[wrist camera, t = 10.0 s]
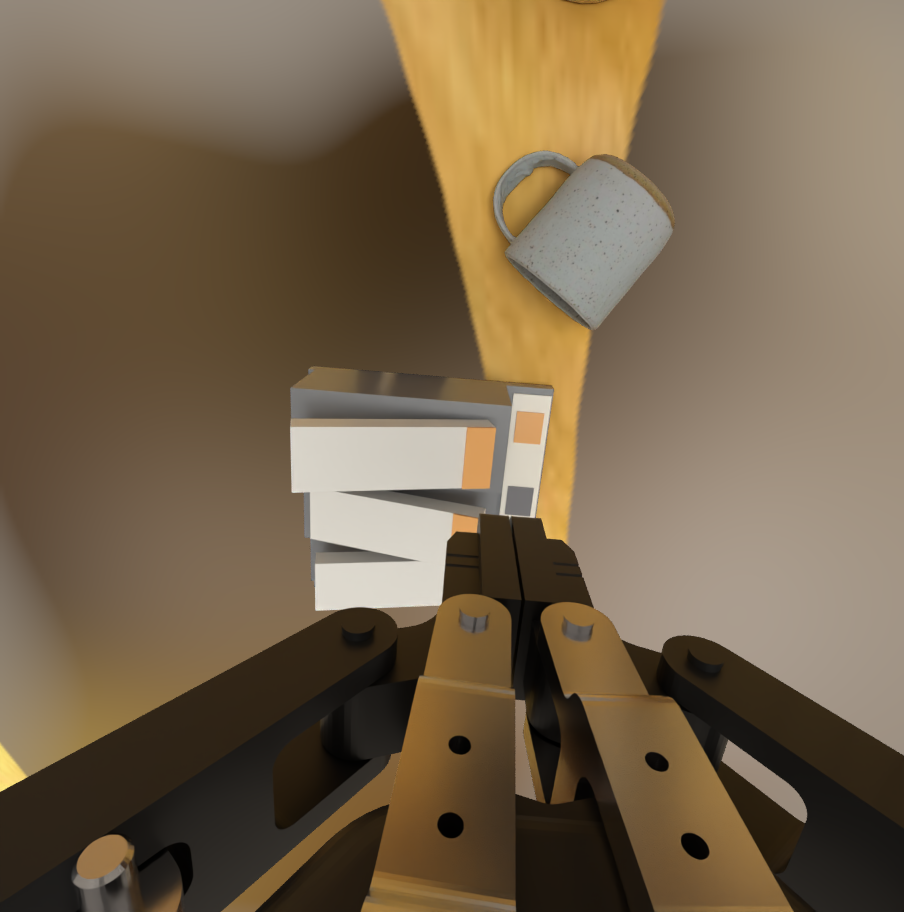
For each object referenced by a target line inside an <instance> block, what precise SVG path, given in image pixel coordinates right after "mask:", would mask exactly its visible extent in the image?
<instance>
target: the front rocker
mask: <svg viewBox="0 0 904 912" xmlns="http://www.w3.org/2000/svg"><path fill="white" fill-rule="evenodd" d="M495 434H496V427H495V426H494V425H493V424H492V423H491V422H490V421H489V420H466V419H291V424H290V436H291V475H292V476H291V477H292V493H296V492H336V491H374V490H412V489H450V488H462V489H487V488H490V480H491V471H492V461H493V452H494V443H495Z"/></svg>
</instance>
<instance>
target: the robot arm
mask: <svg viewBox="0 0 904 912" xmlns="http://www.w3.org/2000/svg"><path fill="white" fill-rule="evenodd" d="M568 1H572V2H577V3H598V2H601V1H605V0H568ZM515 699H516V700H525V704H526V714H525V721H524V727H523V737H524V742H525V747H526V752H527V756H528V761H529V767H530V772H531V777H532V782H533V787H534V792H535V797H536V800H532V799H529V798H526V797H523V796H520V795H517V794H515ZM728 740H730V741H731V742H732V743H734V744H735V745H737V746H738V747H739V748H741V749H742V750H743V751H745V752H747V753H748V754H749V755H751V756H752V757H753V758H754V759H756V760H757V761H758V762H760V763H761V764H763V765H764V766H765V767H767V768H768V769H769V770H771V771H772V772H774V773H775V774H776V775H778V776H779V777H780V778H782V779H783V780H785V781H786V782H787V783H789V784H790V785H791V786H792V787H793V788H794V789H795V790H796V791H797V792H798V793H799V795H800V796H801V798H802V799H803V801H804V803H805V806H806V809H807V821H806V823H803V822H802V821H800V820H798V819H797V818H795V817H794V816H793V815H791V814H790V813H788V812H787V811H786V810H785V809H783V808H782V807H781V806H779V805H778V804H777V803H776V802H774V801H773V800H772V799H770V798H769V797H768V796H766V795H765V794H764V793H763V792H761V791H760V790H759V789H757V788H756V787H755V786H753V785H752V784H751V783H750V782H748V781H747V780H746V779H744V778H743V777H742V776H740V775H739V774H738V773H736V772H735V771H734V770H733V769H731V768H730V767H729V766H727V765H726V764H724V763H723V762H722V761H721V760H722V757H723V754H724V751H725V748H726V745H727V742H728ZM399 752H401V756H400V761H399V765H398V769H397V774H396V779H395V783H394V787H393V791H392V796H391V800H390V804H389V805H386V806H382V807H380V808H378V809H375V810H373V811H371V812H368V813H366V814H364V815H363V816H361V817H359V818H358V819H356V820H354V821H352V822H351V823H350V824H348V825H347V826H346V827H344V828H343V829H342V830H340V831H339V832H338V833H336V834H335V835H334V836H333V837H332V838H331V839H330V840H328V841H327V842H326V843H325V844H324V845H323V846H322V847H321V848H320V849H319V850H318V851H317V852H316V853H315V854H314V855H313V856H312V857H311V858H310V859H309V860H308V861H307V862H306V863H305V864H304V865H303V866H302V867H300V868H299V870H297V872H295V873H294V874H293V875H292V876H291V877H290V878H289V879H288V880H287V881H286V882H285V883H284V884H283V885H282V886H281V887H280V888H279V889H278V890H277V891H276V892H275V893H274V894H273V895H272V896H271V897H270V898H269V899H268V900H267V901H266V902H264V903H263V904H262V905H261V906H260V907H259V908H258V909H257V910H256V911H255V912H904V756H903V755H902V754H900V753H899V752H897V751H895V750H894V749H892V748H890V747H889V746H887V745H885V744H883V743H882V742H880V741H879V740H877V739H875V738H874V737H872V736H870V735H869V734H867V733H865V732H864V731H862V730H861V729H859V728H857V727H856V726H854V725H852V724H851V723H849V722H847V721H846V720H844V719H842V718H840V717H839V716H837V715H836V714H834V713H832V712H830V711H829V710H827V709H826V708H824V707H822V706H821V705H819V704H817V703H816V702H814V701H813V700H811V699H809V698H808V697H806V696H804V695H803V694H801V693H799V692H798V691H796V690H794V689H793V688H791V687H789V686H788V685H786V684H784V683H783V682H781V681H779V680H778V679H776V678H774V677H773V676H771V675H769V674H768V673H766V672H764V671H763V670H761V669H760V668H758V667H756V666H754V665H753V664H751V663H750V662H748V661H746V660H744V659H743V658H741V657H740V656H738V655H736V654H734V653H733V652H731V651H730V650H728V649H726V648H725V647H723V646H721V645H719V644H717V643H715V642H713V641H710V640H707V639H704V638H700V637H695V636H685V635H683V636H676V637H672V638H670V639H668V640H667V641H666V642H665V643H664V646H663V649H662V653H659V652H656V651H653V650H649V649H646V648H642V647H638V646H635V645H633V644H630V643H628V642H625V641H623V640H621V638H620V636H619V634H618V633H617V630H616V628H615V626H614V625H613V623H612V622H611V621H610V619H609V618H608V617H607V616H605V615H604V614H603V613H601V612H600V611H598V610H596V609H594V607H593V605H592V602H591V598H590V595H589V593H588V590H587V587H586V584H585V581H584V578H582V573H581V570H580V567H578V561H577V558H576V556H575V553H574V551H573V550H572V549H571V548H570V547H569V546H567V545H566V544H565V543H564V542H563V541H562V540H555V539H547V538H546V535H545V531H544V527H543V524H542V520H541V518H529V517H517V516H511V517H510V519H509V516H504V515H493V514H481V513H479V517H478V525H477V533H471V532H459V531H456V532H455V533H454V534H453V535H452V536H451V538H450V539H449V540H448V541H447V547H446V559H445V571H444V583H443V595H442V604H441V605H440V607H439V609H438V612H437V614H436V615H435V616H434V617H433V618H432V619H430V620H428V621H427V622H424V623H423V624H419V625H416V626H411V627H405V628H397V625H396V623H395V621H394V620H393V619H392V618H391V617H390V616H389V615H388V614H386V613H384V612H382V611H380V610H377V609H373V608H366V607H354V608H347V609H343V610H340V611H337V612H335V613H333V614H331V615H329V616H327V617H326V618H324V619H322V620H320V621H318V622H316V623H314V624H312V625H311V626H309V627H307V628H305V629H303V630H301V631H299V632H298V633H296V634H294V635H292V636H290V637H288V638H286V639H285V640H283V641H281V642H279V643H277V644H275V645H273V646H272V647H270V648H268V649H266V650H264V651H262V652H260V653H258V654H257V655H255V656H253V657H251V658H249V659H247V660H246V661H243V662H242V663H240V664H238V665H236V666H234V667H232V668H231V669H229V670H227V671H225V672H223V673H221V674H219V675H217V676H216V677H214V678H212V679H210V680H208V681H206V682H204V683H202V684H201V685H199V686H197V687H195V688H193V689H191V690H189V691H188V692H186V693H184V694H182V695H180V696H178V697H176V698H175V699H173V700H171V701H169V702H167V703H165V704H163V705H161V706H160V707H158V708H156V709H154V710H152V711H150V712H148V713H147V714H145V715H143V716H141V717H139V718H137V719H136V720H134V721H132V722H130V723H128V724H126V725H124V726H122V727H121V728H119V729H117V730H115V731H113V732H111V733H110V734H108V735H106V736H104V737H102V738H100V739H98V740H96V741H95V742H92V743H91V744H89V745H87V746H85V747H84V748H81V749H80V750H78V751H76V752H74V753H72V754H70V755H68V756H66V757H65V758H63V759H61V760H59V761H57V762H55V763H53V764H51V765H50V766H48V767H46V768H44V769H42V770H40V771H38V772H37V773H35V774H33V775H31V776H29V777H27V778H25V779H24V780H22V781H20V782H18V783H16V784H14V785H12V786H10V787H9V788H7V789H5V790H3V791H1V792H0V912H221V911H222V910H223V909H224V908H226V907H227V906H228V905H229V904H230V903H231V902H232V901H234V900H235V899H236V898H237V897H238V896H239V895H240V894H242V893H243V892H244V891H245V890H246V889H247V888H248V887H250V886H251V885H252V884H253V883H254V882H255V881H256V880H258V879H259V878H260V877H261V876H262V875H263V874H264V873H266V872H267V871H268V870H269V869H270V868H271V867H273V866H274V865H275V864H276V863H277V862H278V861H279V860H281V859H282V858H283V857H284V856H285V855H286V854H287V853H289V852H290V851H291V850H292V849H293V848H294V847H295V846H296V845H298V844H299V843H300V842H301V841H302V840H303V839H305V838H306V837H307V836H308V835H309V834H310V833H312V832H313V831H314V830H315V829H316V828H317V827H318V826H320V825H321V824H322V823H323V822H324V821H325V820H326V819H328V818H329V817H330V816H331V815H332V814H333V813H334V812H336V811H337V810H338V809H339V808H340V807H341V806H342V805H344V804H345V803H346V802H347V801H348V800H349V799H350V798H352V796H354V795H355V794H356V793H357V792H358V791H360V790H361V789H362V788H363V787H364V786H365V785H366V784H367V783H369V782H370V781H371V780H372V779H373V778H375V777H376V776H377V775H378V774H379V773H380V772H381V771H382V770H383V769H384V768H385V767H386V765H387V764H388V762H389V760H390V757H391V754H394V753H399Z"/></svg>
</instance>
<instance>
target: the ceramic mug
mask: <svg viewBox="0 0 904 912" xmlns="http://www.w3.org/2000/svg"><path fill="white" fill-rule="evenodd" d="M543 166H552V167H555V168H557V169H561V170H563V171H565V172H567V173H569V174H570V176H569V177H568V178H567V179H566V181H565V182H564V183H563V184H562V185H561V187H560V188H559V189H558V190H557V192H556V193H555V194H554V196H553V197H552V198H551V199H550V200H549V201H548V203H547V204H546V205H545V206H544V207H543V208H542V209H541V210H540V211H539V213H538V214H537V215H536V216H535V217H534V218H533V219H532V220H531V221H530V223H529V224H528V225H527V226H526V227H525V229H524V230H523V231H522V232H521V233H520V234H519V235H518V236H517V237H514V236H513V235H512V234H511V233H510V232H509V230H508V228H507V226H506V224H505V222H504V218H503V213H502V212H503V211H502V209H503V203H504V202H505V199H506V197H507V196H508V194H509V193H510V192H511V191H512V190H513V189H514V188H515V187H516V186H517V185H518V183H519V182H520V181H521V180H523V179H524V178H525V177H527V176H529V175H531V173H532V171H533V169H534V168H537V167H543ZM493 206H494V214H495V218H496V221H497V224H498V226H499V228H500V230H501V231H502V233H503V234H504V236H505V237H506V239H507V240H508V241H509V243H510V244H511V245H510V246H509V247H508V248H507V249H506V251H505V256H506V258H507V259H508V260H509V262H510V263H511V264H512V265H513V266H514V267H515V268H516V269H517V270H518V271H519V272H520V273H521V274H522V275H523V277H524V278H526V279H527V280H528V281H529V282H530V283H531V284H533V286H534V287H535V288H536V289H537V290H539V291H540V292H541V293H542V294H543V295H544V296H546V297H547V298H548V299H549V300H550V301H551V302H552V303H554V304H555V305H556V306H557V307H558V308H560V309H561V310H562V311H563V312H565V313H566V314H567V315H568V316H570V317H571V318H572V319H573V320H575V321H576V322H578V323H580V324H581V325H582V326H584V327H586V328H588V329H590V330H595V329H597V328H598V327H599V326H600V324H601V323H602V322H603V321H604V319H605V318H606V317H607V316H608V314H609V313H610V312H611V311H612V310H613V308H614V307H615V306H616V305H617V304H618V302H619V301H620V300H621V299H622V298H623V297H624V295H625V294H626V293H627V292H628V291H629V289H630V288H631V287H632V285H633V284H634V283H635V282H636V280H637V279H638V278H639V276H641V274H642V273H643V272H644V271H645V270H646V269H647V267H648V266H649V265H650V264H651V263H652V262H653V261H654V259H655V258H656V257H657V256H658V254H659V253H660V252H661V250H662V249H663V247H664V246H665V244H666V242H667V241H668V239H669V238H670V236H671V234H672V232H673V229H674V224H675V220H674V215H673V210H672V208H671V206H670V204H669V202H668V201H667V199H666V198H665V196H664V195H663V194H662V192H660V190H659V189H658V188H657V187H656V186H655V185H654V183H653V182H652V181H650V180H649V179H648V178H647V177H646V176H644V175H643V174H642V173H641V172H639V171H638V170H637V169H636V168H634V167H633V166H632V165H630V164H628V163H627V162H625V161H623V160H621V159H619V158H618V157H615V156H612V155H607V154H604V155H595V156H592V157H591V158H589V159H588V160H587V161H585V162H584V163H583V164H582V165H581V166H577V165H576V164H575V163H574V162H573V161H571V160H570V159H569V158H568V157H565V156H563V155H561V154H559V153H555V152H551V151H539V152H534V153H531V154H528V155H525V156H524V157H522V158H520V159H519V160H518V161H516V162H515V163H513V164H512V165H511V166H510V167H509V169H508V170H507V171H506V172H505V173H504V174H503V176H502V177H501V179H500V180H499V182H498V184H497V186H496V188H495V192H494V197H493Z"/></svg>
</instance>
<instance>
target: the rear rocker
mask: <svg viewBox="0 0 904 912" xmlns="http://www.w3.org/2000/svg"><path fill="white" fill-rule="evenodd" d="M444 571H445V566H442V565H437V564H432V563H427V562H422V561H417V560H412V559H407V558H402V557H398V556H393V555H388V554H383V553H378V552H373V551H366V552H322V553H316V560H315V610H316V611H318V610H342V609H347V608H354V607H366V608H387V607H388V608H389V607H413V606H434V605H435V606H436V605H441V604H442V595H443V583H444Z"/></svg>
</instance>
